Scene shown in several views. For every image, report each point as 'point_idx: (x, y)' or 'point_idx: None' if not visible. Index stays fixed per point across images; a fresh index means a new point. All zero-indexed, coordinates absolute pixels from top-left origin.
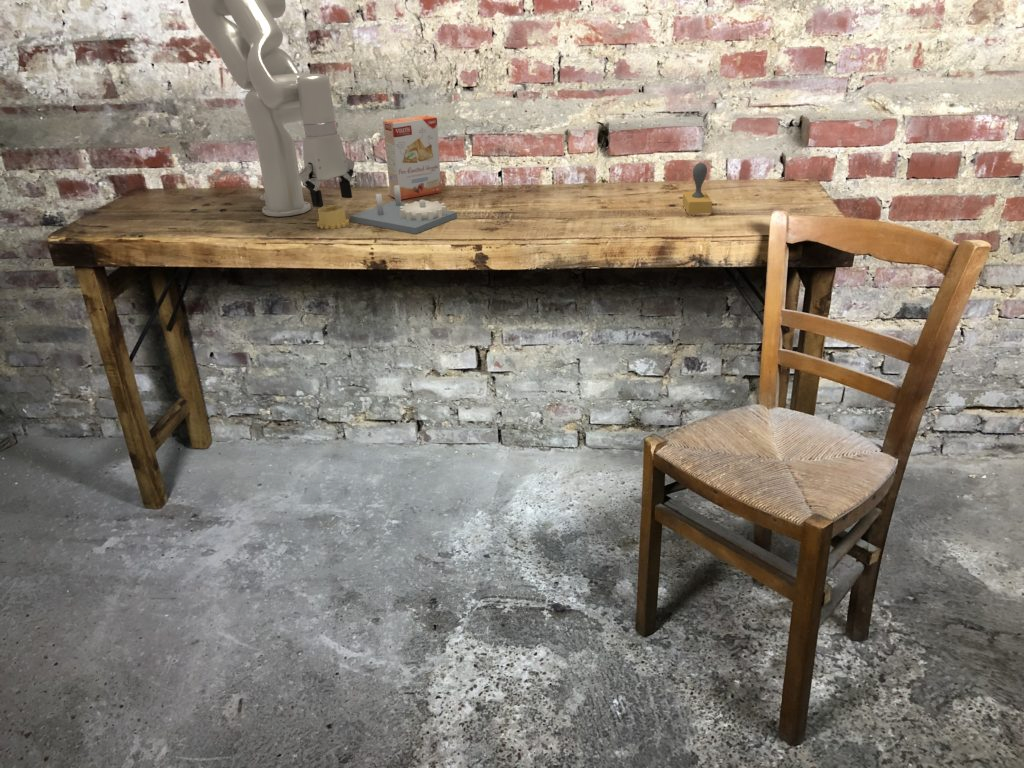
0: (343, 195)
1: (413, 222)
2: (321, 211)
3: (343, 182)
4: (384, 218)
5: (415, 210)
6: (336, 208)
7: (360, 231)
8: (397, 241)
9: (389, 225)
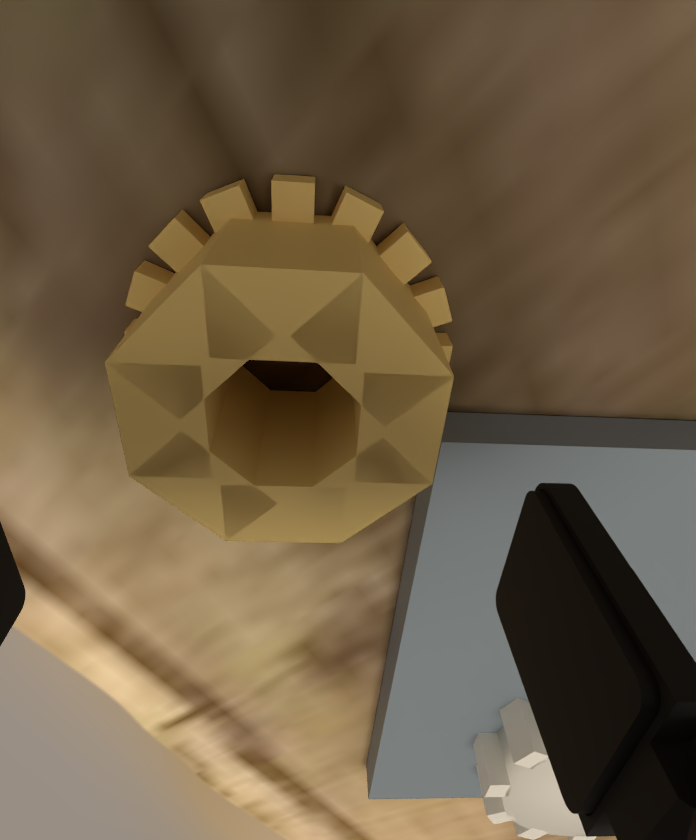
0: (529, 536)
1: (447, 765)
2: (124, 412)
3: (617, 763)
4: (465, 654)
5: (535, 798)
6: (357, 434)
7: (265, 596)
8: (240, 766)
9: (386, 695)
